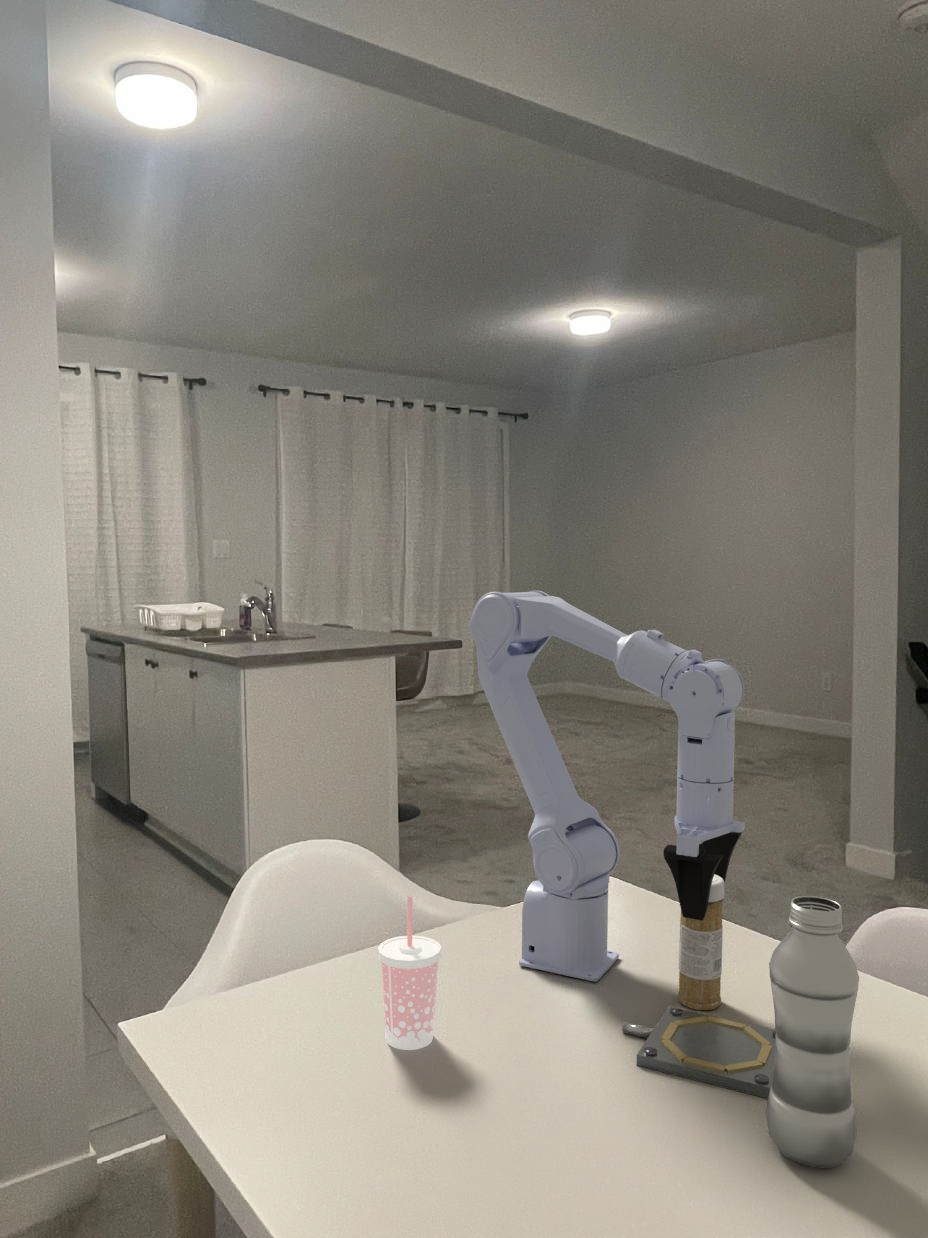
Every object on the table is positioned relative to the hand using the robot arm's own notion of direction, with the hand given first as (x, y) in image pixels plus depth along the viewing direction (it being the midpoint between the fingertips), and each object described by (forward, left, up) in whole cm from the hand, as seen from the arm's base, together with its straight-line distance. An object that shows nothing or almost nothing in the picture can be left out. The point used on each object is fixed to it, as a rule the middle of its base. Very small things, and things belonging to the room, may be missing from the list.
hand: (702, 906), depth 101 cm
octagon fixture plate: (+2, -10, -10) cm, 15 cm away
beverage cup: (-23, -21, -11) cm, 33 cm away
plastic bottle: (+14, -22, -11) cm, 28 cm away
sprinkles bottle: (0, 0, -11) cm, 11 cm away
